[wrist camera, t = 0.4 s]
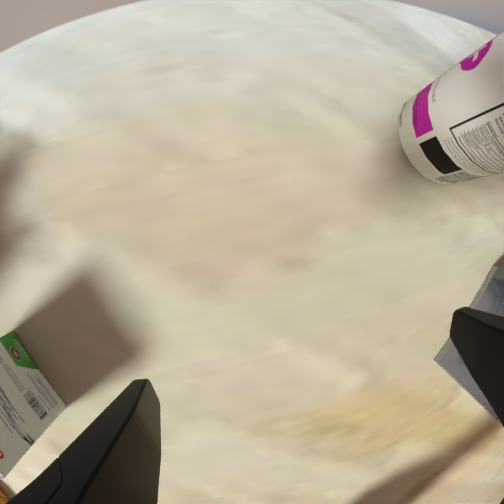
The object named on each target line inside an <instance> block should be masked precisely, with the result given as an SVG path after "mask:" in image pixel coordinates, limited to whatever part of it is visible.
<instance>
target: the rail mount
mask: <svg viewBox="0 0 504 504" xmlns="http://www.w3.org/2000/svg"><path fill="white" fill-rule="evenodd" d="M469 308H473V309H476V310H480V311H484V312H488V313H492V314H495V315H499V316H503V317H504V267H501V266H492V268H491V270H490V272H489V274H488V276H487V277H486V279H485V281H484V283H483V285H482V286H481V288H480V290H479V292H478V293H477V295H476V297H475V299H474V300H473V302H472V304H471V305H470V307H469ZM434 360H435V361H436V362H437V363H438V364H439V365H440V366H441V367H442V368H443V369H444V370H445V371H446V372H447V373H448V374H449V375H450V376H451V377H452V378H453V379H455V380H456V381H457V382H458V383H459V384H460V385H461V386H462V387H463V388H464V389H465V390H466V391H467V392H468V393H469V394H470V395H471V396H472V397H473V398H474V399H475V400H476V401H477V402H478V403H479V404H480V405H481V406H482V407H483V408H484V409H485V410H486V411H487V412H488V413H489V414H490V415H491V416H492V417H493V418H495V419H496V420H497V419H498V417H497V415H496V413H495V412H494V410H493V409H492V407H491V405H490V404H489V402H488V401H487V399H486V398H485V396H484V395H483V393H482V391H481V390H480V388H479V387H478V385H477V384H476V382H475V381H474V379H473V378H472V376H471V375H470V373H469V371H468V369H467V368H466V366H465V364H464V362H463V360H462V358H461V357H460V355H459V353H458V351H457V349H456V348H455V346H454V344H453V342H452V341H451V338H449V339H448V341H447V342H446V343H445V345H444V346H443V348H442V349H441V350H440V352H439V353H438V355H437V356H436V357H435V359H434Z"/></svg>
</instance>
